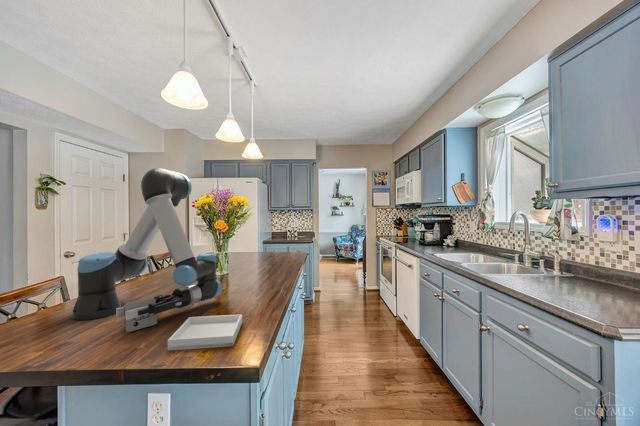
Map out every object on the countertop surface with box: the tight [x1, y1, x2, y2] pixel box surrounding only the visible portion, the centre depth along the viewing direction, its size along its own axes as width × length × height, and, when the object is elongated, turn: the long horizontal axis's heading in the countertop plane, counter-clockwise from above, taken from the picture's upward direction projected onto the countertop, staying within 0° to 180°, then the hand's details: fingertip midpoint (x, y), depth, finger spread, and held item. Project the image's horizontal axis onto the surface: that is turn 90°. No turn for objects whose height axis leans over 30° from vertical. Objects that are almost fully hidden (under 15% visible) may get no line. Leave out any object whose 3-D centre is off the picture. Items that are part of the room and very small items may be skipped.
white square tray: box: [167, 313, 243, 352], centre depth 89 cm, size 18×18×3 cm
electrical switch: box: [123, 297, 158, 333], centre depth 96 cm, size 9×5×9 cm, turn 142°
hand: (121, 314), depth 91 cm, fingers closed on electrical switch, 5 cm apart
